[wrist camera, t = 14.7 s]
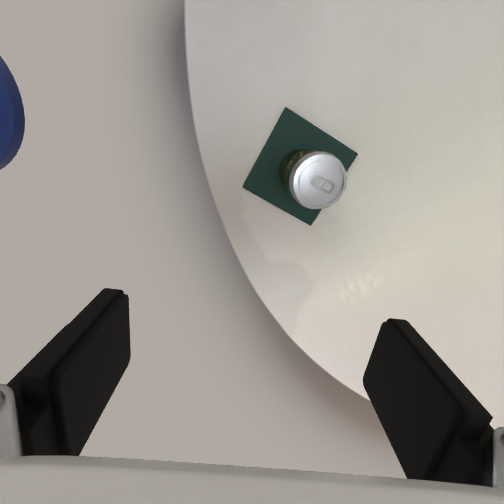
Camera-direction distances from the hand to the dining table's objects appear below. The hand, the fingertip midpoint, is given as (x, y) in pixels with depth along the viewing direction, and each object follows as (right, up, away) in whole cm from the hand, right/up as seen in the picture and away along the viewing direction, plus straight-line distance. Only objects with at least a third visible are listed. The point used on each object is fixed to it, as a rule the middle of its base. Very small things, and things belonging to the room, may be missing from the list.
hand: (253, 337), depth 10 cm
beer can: (+6, +14, +27) cm, 31 cm away
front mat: (+6, +14, +27) cm, 31 cm away
